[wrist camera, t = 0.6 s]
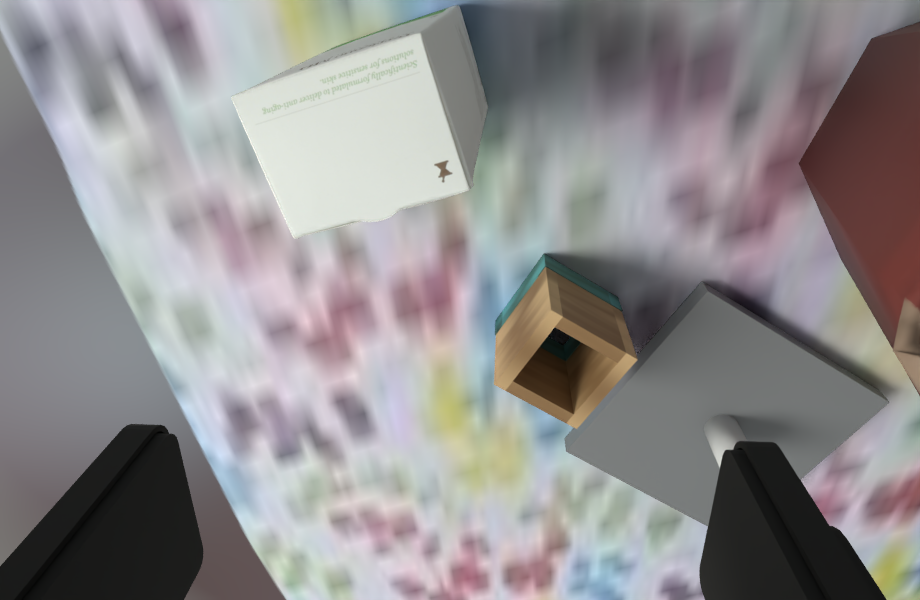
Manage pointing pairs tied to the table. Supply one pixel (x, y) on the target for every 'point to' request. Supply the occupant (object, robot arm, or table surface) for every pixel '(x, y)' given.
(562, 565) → the table surface
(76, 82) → the table surface
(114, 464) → the robot arm
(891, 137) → the bucket
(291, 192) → the skincare box
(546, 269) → the wooden sleeve
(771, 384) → the pin board
